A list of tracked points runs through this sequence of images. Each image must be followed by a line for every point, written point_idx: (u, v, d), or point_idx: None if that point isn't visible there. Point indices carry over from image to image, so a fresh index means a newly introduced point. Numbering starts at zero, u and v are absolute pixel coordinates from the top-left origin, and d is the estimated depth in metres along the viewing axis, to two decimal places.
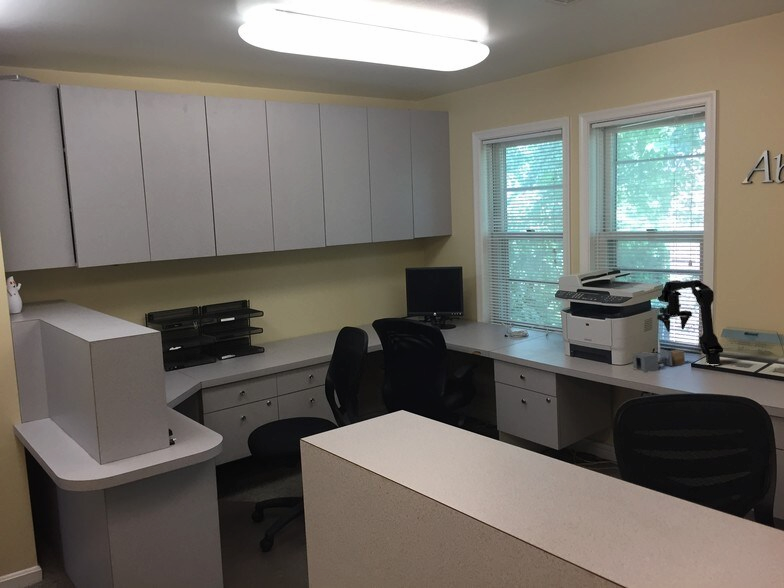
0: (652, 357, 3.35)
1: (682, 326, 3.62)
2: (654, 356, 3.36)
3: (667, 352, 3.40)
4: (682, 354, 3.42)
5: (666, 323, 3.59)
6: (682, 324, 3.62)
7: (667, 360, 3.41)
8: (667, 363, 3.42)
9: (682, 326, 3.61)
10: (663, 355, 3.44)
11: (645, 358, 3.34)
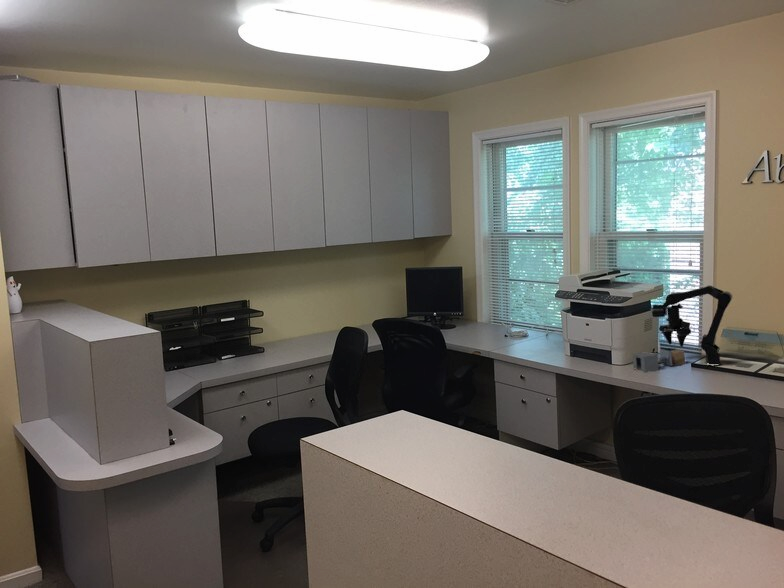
0: (652, 357, 3.35)
1: None
2: (654, 356, 3.36)
3: (667, 352, 3.40)
4: (682, 354, 3.42)
5: None
6: None
7: (667, 360, 3.41)
8: (667, 363, 3.42)
9: None
10: (663, 355, 3.44)
11: (645, 358, 3.34)
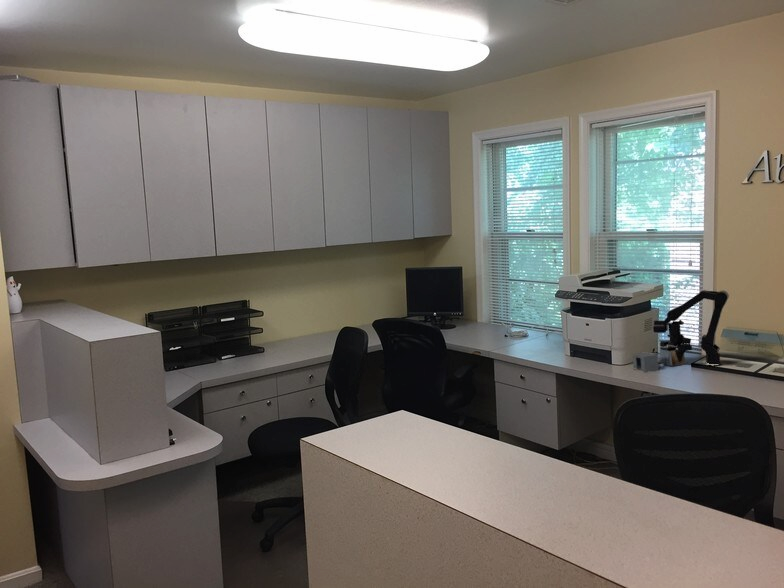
0: (652, 357, 3.35)
1: None
2: (654, 356, 3.36)
3: (667, 352, 3.40)
4: None
5: None
6: None
7: (667, 360, 3.41)
8: (667, 363, 3.42)
9: None
10: (663, 355, 3.44)
11: (645, 358, 3.34)
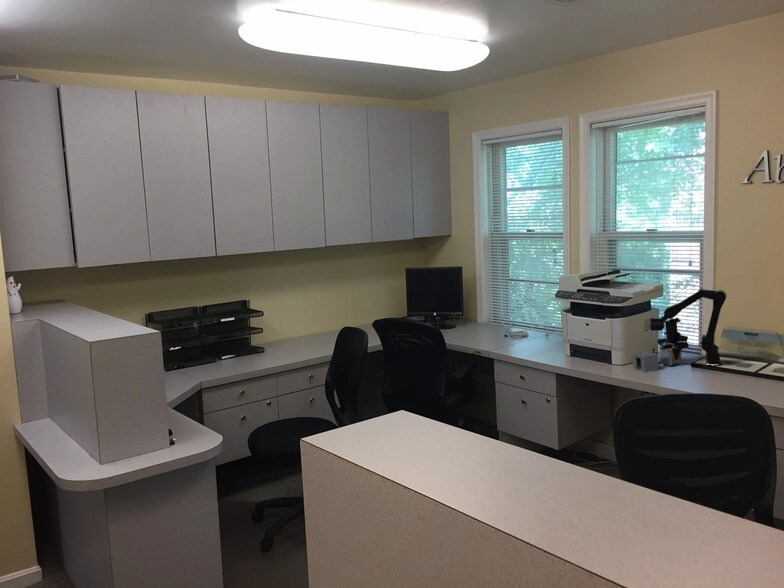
0: (652, 357, 3.35)
1: None
2: (654, 356, 3.36)
3: (667, 352, 3.40)
4: None
5: None
6: None
7: (667, 360, 3.41)
8: (667, 363, 3.42)
9: None
10: (663, 355, 3.44)
11: (645, 358, 3.34)
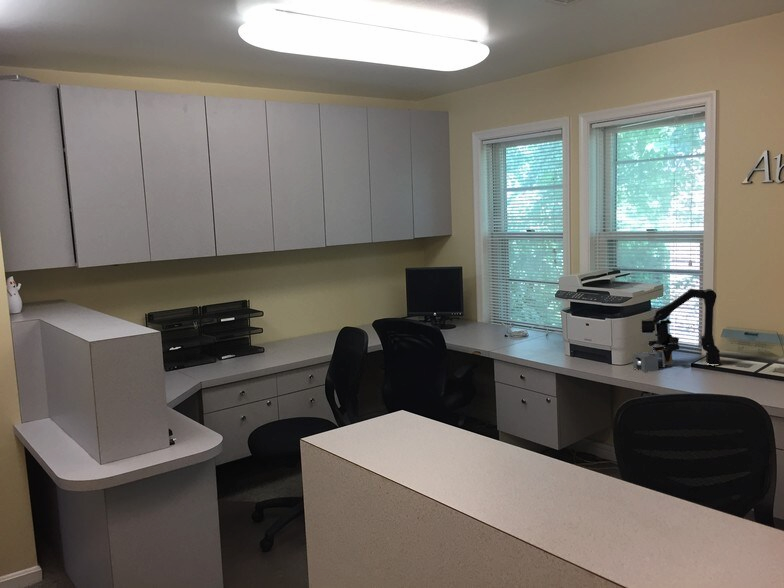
0: (652, 357, 3.35)
1: None
2: (654, 356, 3.36)
3: (660, 353, 3.39)
4: None
5: None
6: None
7: (660, 361, 3.40)
8: (660, 364, 3.41)
9: None
10: None
11: (645, 358, 3.34)
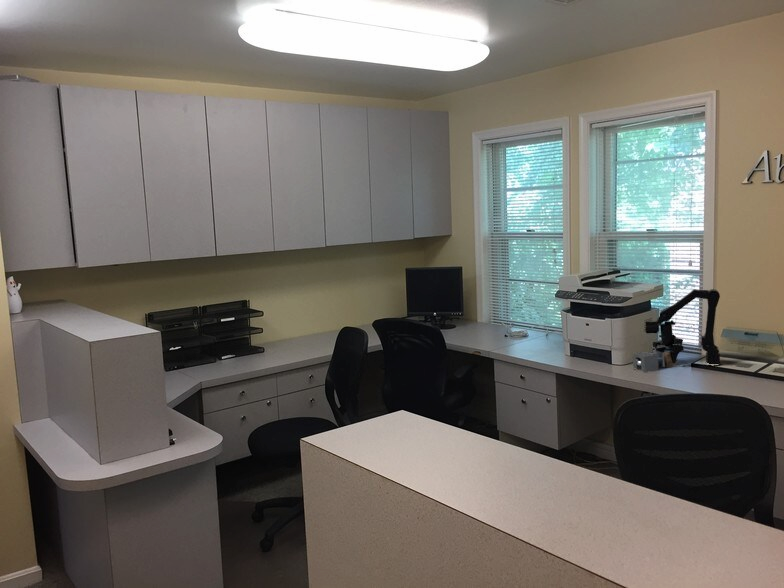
0: (652, 357, 3.35)
1: None
2: (654, 356, 3.36)
3: (660, 353, 3.39)
4: None
5: None
6: None
7: (660, 361, 3.40)
8: (660, 364, 3.41)
9: None
10: None
11: (645, 358, 3.34)
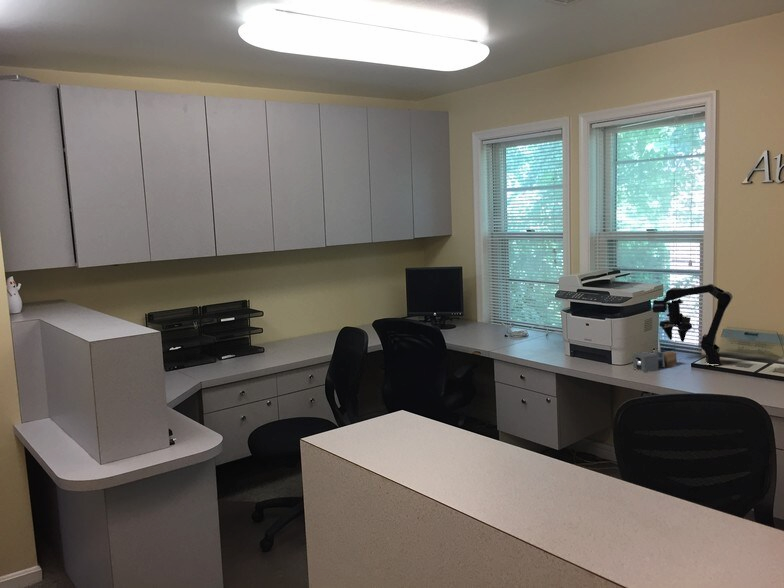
0: (652, 357, 3.35)
1: None
2: (654, 356, 3.36)
3: (660, 353, 3.39)
4: (674, 355, 3.41)
5: None
6: None
7: (660, 361, 3.40)
8: (660, 364, 3.41)
9: None
10: None
11: (645, 358, 3.34)
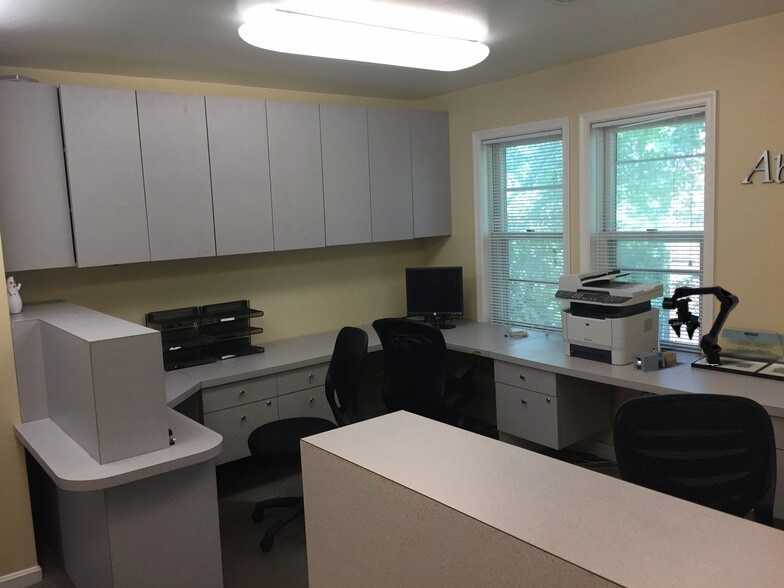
0: (652, 357, 3.35)
1: None
2: (654, 356, 3.36)
3: (660, 353, 3.39)
4: (674, 355, 3.41)
5: None
6: None
7: (660, 361, 3.40)
8: (660, 364, 3.41)
9: None
10: None
11: (645, 358, 3.34)
